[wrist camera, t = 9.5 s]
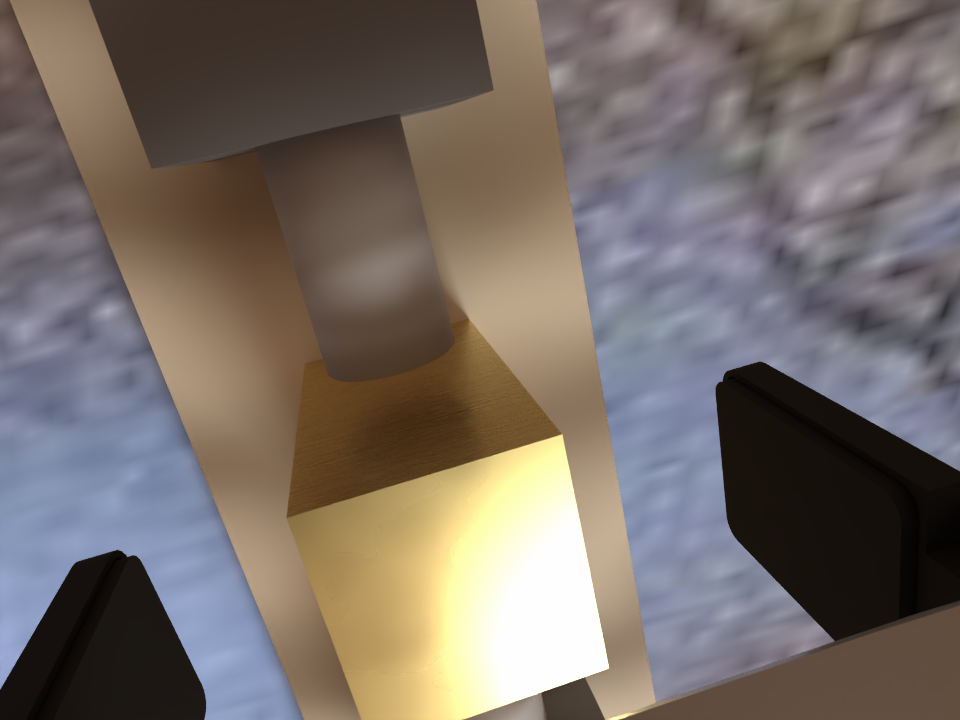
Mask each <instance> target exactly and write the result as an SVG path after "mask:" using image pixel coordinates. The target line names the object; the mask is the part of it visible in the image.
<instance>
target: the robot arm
mask: <svg viewBox="0 0 960 720" xmlns="http://www.w3.org/2000/svg"><path fill="white" fill-rule="evenodd" d="M716 403H717V414H718V425H719V436H720V447H721V458H722V469H723V480H724V491H725V502H726V513H727V520H728V524H729V527H730V529H731V531H732V533H733V535H734V537H735V538H736V539H737V540H738V542H739V543H740V544H741V545H742V546H743V547H744V548H745V549H746V550H747V551H748V552H749V553H750V554H751V555H752V556H753V557H754V558H755V559H756V560H757V561H758V562H759V563H760V564H761V565H762V566H763V567H764V568H765V569H766V570H767V571H768V572H769V573H770V575H771V576H772V577H773V578H774V579H775V580H776V581H777V582H778V583H779V584H780V585H781V586H782V587H783V588H784V589H785V590H786V591H787V592H788V593H789V594H790V595H791V596H792V597H793V598H794V599H795V600H796V601H797V602H798V603H799V604H800V605H801V606H802V607H803V609H804V610H805V611H806V612H807V613H808V614H809V615H810V616H811V617H812V618H813V619H814V620H815V621H816V622H817V623H818V624H819V625H820V626H821V627H822V628H823V629H824V630H825V631H826V632H827V633H828V634H829V635H830V636H831V637H832V638H833V639H834V640H835V641H834V642H832V643H829V644H826V645H823V646H820V647H817V648H814V649H811V650H808V651H805V652H802V653H800V654H797V655H794V656H791V657H788V658H785V659H782V660H779V661H776V662H773V663H771V664H768V665H765V666H762V667H759V668H756V669H753V670H750V671H747V672H744V673H741V674H739V675H736V676H733V677H730V678H727V679H724V680H721V681H718V682H715V683H712V684H710V685H707V686H704V687H701V688H698V689H695V690H692V691H689V692H686V693H683V694H680V695H678V696H675V697H672V698H669V699H666V700H663V701H660V702H657V703H654V704H651V705H649V706H646V707H643V708H640V709H637V710H634V711H631V712H629V713H626V714H623V715H620V716H617V717H614V718H611V719H609V720H960V471H958V470H956V469H955V468H953V467H951V466H949V465H947V464H946V463H944V462H942V461H940V460H938V459H937V458H935V457H933V456H931V455H929V454H928V453H926V452H924V451H922V450H920V449H919V448H917V447H915V446H913V445H911V444H910V443H908V442H906V441H904V440H902V439H901V438H899V437H897V436H895V435H893V434H892V433H890V432H888V431H886V430H884V429H883V428H881V427H879V426H877V425H875V424H874V423H872V422H870V421H868V420H866V419H865V418H863V417H861V416H859V415H857V414H856V413H854V412H852V411H850V410H848V409H847V408H845V407H843V406H841V405H839V404H838V403H836V402H834V401H832V400H830V399H829V398H827V397H825V396H823V395H821V394H820V393H818V392H816V391H814V390H812V389H811V388H809V387H807V386H805V385H803V384H802V383H800V382H798V381H796V380H794V379H793V378H791V377H789V376H787V375H785V374H784V373H782V372H780V371H778V370H776V369H775V368H773V367H771V366H769V365H767V364H766V363H763V362H757V363H753V364H750V365H746V366H743V367H740V368H736V369H733V370H729V371H727V372H726V373H725V374H724V378H723V382H719V383H718V384H717V386H716ZM205 713H206V699H205V693H204V689H203V687H202V684H201V682H200V680H199V678H198V676H197V674H196V672H195V670H194V668H193V666H192V664H191V662H190V660H189V658H188V656H187V654H186V652H185V650H184V648H183V646H182V644H181V641H180V639H179V637H178V635H177V633H176V631H175V629H174V627H173V625H172V623H171V621H170V619H169V617H168V615H167V613H166V611H165V609H164V607H163V605H162V603H161V601H160V599H159V597H158V595H157V592H156V590H155V588H154V586H153V584H152V582H151V580H150V578H149V576H148V574H147V572H146V570H145V568H144V566H143V564H142V562H141V561H140V559H139V558H138V557H137V556H134V555H133V556H129V557H127V556H126V555H125V554H124V553H123V552H122V551H119V550H116V551H112V552H109V553H105V554H102V555H99V556H95V557H92V558H88V559H85V560H82V561H78V562H76V563H75V564H74V565H73V566H72V568H71V570H70V571H69V573H68V575H67V576H66V578H65V580H64V582H63V583H62V585H61V587H60V588H59V590H58V592H57V594H56V595H55V597H54V599H53V600H52V602H51V604H50V606H49V607H48V609H47V611H46V612H45V614H44V616H43V618H42V619H41V621H40V623H39V624H38V626H37V628H36V630H35V631H34V633H33V635H32V636H31V638H30V640H29V642H28V643H27V645H26V647H25V648H24V650H23V652H22V654H21V655H20V657H19V659H18V660H17V662H16V664H15V666H14V667H13V669H12V671H11V672H10V674H9V676H8V677H7V679H6V681H5V683H4V684H3V686H2V688H1V689H0V720H204V718H205Z"/></svg>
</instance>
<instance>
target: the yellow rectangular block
mask: <svg viewBox="0 0 960 720" xmlns="http://www.w3.org/2000/svg"><path fill="white" fill-rule="evenodd" d="M451 326H452V330H453V334H454V338H455V343H454V345H453V346H452V348H451V349H450V350H449V351H448V352H446V353H445V354H444V355H442V356H441V357H439V358H438V359H436V360H434V361H432V362H430V363H428V364H426V365H424V366H422V367H419V368H417V369H414V370H411V371H408V372H405V373H402V374H399V375H395V376H391V377H387V378H382V379H377V380H371V381H363V382H343V381H337V380H334V379H332V378H331V377H329V375H328V373H327V370H326V367H325V364H324V361H323V359H321V360H317V361H313V362H310V363H306V364H305V365H304V374H303V382H302V391H301V399H300V407H299V416H298V424H297V433H296V441H295V450H294V458H293V467H292V475H291V483H290V492H289V500H288V509H287V517H286V518H287V521H288V524H289V526H290V529H291V532H292V534H293V537H294V540H295V542H296V545H297V548H298V551H299V553H300V556H301V559H302V561H303V564H304V567H305V569H306V572H307V575H308V577H309V580H310V583H311V585H312V588H313V591H314V593H315V596H316V599H317V602H318V604H319V607H320V610H321V612H322V615H323V618H324V620H325V623H326V626H327V628H328V631H329V634H330V636H331V639H332V642H333V644H334V647H335V650H336V652H337V655H338V658H339V661H340V663H341V666H342V669H343V671H344V674H345V677H346V679H347V682H348V685H349V687H350V690H351V693H352V695H353V698H354V701H355V703H356V706H357V709H358V712H359V714H360V717H361V720H463V719H466V718H469V717H472V716H475V715H477V714H480V713H483V712H486V711H489V710H492V709H494V708H497V707H500V706H503V705H506V704H509V703H511V702H514V701H517V700H520V699H523V698H526V697H528V696H531V695H534V694H537V693H540V692H543V691H545V690H548V689H551V688H554V687H557V686H560V685H562V684H565V683H568V682H571V681H574V680H577V679H579V678H582V677H585V676H588V675H591V674H594V673H596V672H599V671H602V670H605V669H608V668H609V667H608V662H607V657H606V652H605V647H604V642H603V637H602V632H601V626H600V621H599V616H598V611H597V606H596V601H595V596H594V591H593V586H592V581H591V576H590V571H589V566H588V561H587V556H586V551H585V546H584V541H583V536H582V531H581V526H580V521H579V516H578V511H577V506H576V501H575V496H574V491H573V485H572V480H571V475H570V470H569V465H568V460H567V455H566V450H565V445H564V440H563V435H562V433H561V432H560V431H559V430H558V428H557V427H556V426H555V425H554V423H553V422H552V421H551V420H550V418H549V417H548V416H547V415H546V413H545V412H544V411H543V410H542V409H541V407H540V406H539V405H538V404H537V402H536V401H535V400H534V399H533V397H532V396H531V395H530V394H529V392H528V391H527V390H526V389H525V387H524V386H523V385H522V384H521V382H520V381H519V380H518V379H517V378H516V376H515V375H514V374H513V373H512V371H511V370H510V369H509V368H508V366H507V365H506V364H505V363H504V361H503V360H502V359H501V358H500V356H499V355H498V354H497V353H496V352H495V350H494V349H493V348H492V347H491V345H490V344H489V343H488V342H487V340H486V339H485V338H484V337H483V335H482V334H481V333H480V332H479V330H478V329H477V328H476V327H475V325H474V324H473V323H472V322H471V321H470V319H466V320H462V321H459V322H455V323H451Z"/></svg>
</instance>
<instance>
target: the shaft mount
mask: <svg viewBox="0 0 960 720" xmlns="http://www.w3.org/2000/svg"><path fill="white" fill-rule="evenodd" d="M10 2H11V5H12V7H13V10H14V12H15V15H16V17H17V20H18V22H19V24H20V27H21V29H22V32H23V34H24V37H25V39H26V41H27V44H28V46H29V49H30V51H31V54H32V56H33V59H34V61H35V63H36V66H37V68H38V71H39V73H40V76H41V78H42V81H43V83H44V85H45V88H46V90H47V93H48V95H49V98H50V100H51V103H52V105H53V107H54V110H55V112H56V115H57V117H58V120H59V122H60V125H61V127H62V129H63V132H64V134H65V137H66V139H67V142H68V144H69V146H70V149H71V151H72V154H73V156H74V159H75V161H76V164H77V166H78V168H79V171H80V173H81V176H82V178H83V181H84V183H85V186H86V188H87V190H88V193H89V195H90V198H91V200H92V203H93V205H94V208H95V210H96V212H97V215H98V217H99V220H100V222H101V225H102V227H103V230H104V232H105V234H106V237H107V239H108V242H109V244H110V247H111V249H112V251H113V254H114V256H115V259H116V261H117V264H118V266H119V269H120V271H121V273H122V276H123V278H124V281H125V283H126V286H127V288H128V291H129V293H130V295H131V298H132V300H133V303H134V305H135V308H136V310H137V313H138V315H139V317H140V320H141V322H142V325H143V327H144V330H145V332H146V335H147V337H148V339H149V342H150V344H151V347H152V349H153V352H154V354H155V356H156V359H157V361H158V364H159V366H160V369H161V371H162V374H163V376H164V378H165V381H166V383H167V386H168V388H169V391H170V393H171V396H172V398H173V400H174V403H175V405H176V408H177V410H178V413H179V415H180V418H181V420H182V422H183V425H184V427H185V430H186V432H187V435H188V437H189V440H190V442H191V444H192V447H193V449H194V452H195V454H196V457H197V459H198V461H199V464H200V466H201V469H202V471H203V474H204V476H205V479H206V481H207V483H208V486H209V488H210V491H211V493H212V496H213V498H214V501H215V503H216V505H217V508H218V510H219V513H220V515H221V518H222V520H223V523H224V525H225V527H226V530H227V532H228V535H229V537H230V540H231V542H232V545H233V547H234V549H235V552H236V554H237V557H238V559H239V562H240V564H241V567H242V569H243V571H244V574H245V576H246V579H247V581H248V584H249V586H250V588H251V591H252V593H253V596H254V598H255V601H256V603H257V606H258V608H259V610H260V613H261V615H262V618H263V620H264V623H265V625H266V628H267V630H268V632H269V635H270V637H271V640H272V642H273V645H274V647H275V650H276V652H277V654H278V657H279V659H280V662H281V664H282V667H283V669H284V672H285V674H286V676H287V679H288V681H289V684H290V686H291V689H292V691H293V693H294V696H295V698H296V701H297V703H298V706H299V708H300V711H301V713H302V715H303V718H304V720H361V717H360V714H359V712H358V709H357V706H356V703H355V701H354V698H353V695H352V693H351V690H350V687H349V685H348V682H347V679H346V677H345V674H344V671H343V669H342V666H341V663H340V661H339V658H338V655H337V652H336V650H335V647H334V644H333V642H332V639H331V636H330V634H329V631H328V628H327V626H326V623H325V620H324V618H323V615H322V612H321V610H320V607H319V604H318V602H317V599H316V596H315V593H314V591H313V588H312V585H311V583H310V580H309V577H308V575H307V572H306V569H305V567H304V564H303V561H302V559H301V556H300V553H299V551H298V548H297V545H296V542H295V540H294V537H293V534H292V532H291V529H290V526H289V524H288V521H287V518H286V517H287V509H288V500H289V492H290V483H291V475H292V467H293V458H294V450H295V441H296V433H297V424H298V416H299V407H300V399H301V391H302V382H303V374H304V365H305V364H306V363H310V362H313V361H317V360H321V359H323V361H324V364H325V367H326V370H327V373H328V375H329V377H331V378H332V379H334V380H337V381H343V382H363V381H371V380H377V379H382V378H387V377H391V376H395V375H399V374H402V373H405V372H408V371H411V370H414V369H417V368H419V367H422V366H424V365H426V364H428V363H430V362H432V361H434V360H436V359H438V358H439V357H441V356H442V355H444V354H445V353H446V352H448V351H449V350H450V349H451V348H452V346H453V345H454V343H455V338H454V334H453V330H452V326H451V323H455V322H459V321H462V320H466V319H470V321H471V322H472V323H473V324H474V325H475V327H476V328H477V329H478V330H479V332H480V333H481V334H482V335H483V337H484V338H485V339H486V340H487V342H488V343H489V344H490V345H491V347H492V348H493V349H494V350H495V352H496V353H497V354H498V355H499V356H500V358H501V359H502V360H503V361H504V363H505V364H506V365H507V366H508V368H509V369H510V370H511V371H512V373H513V374H514V375H515V376H516V378H517V379H518V380H519V381H520V382H521V384H522V385H523V386H524V387H525V389H526V390H527V391H528V392H529V394H530V395H531V396H532V397H533V399H534V400H535V401H536V402H537V404H538V405H539V406H540V407H541V409H542V410H543V411H544V412H545V413H546V415H547V416H548V417H549V418H550V420H551V421H552V422H553V423H554V425H555V426H556V427H557V428H558V430H559V431H560V432H561V433H562V435H563V440H564V445H565V450H566V455H567V460H568V465H569V470H570V475H571V480H572V485H573V491H574V496H575V501H576V506H577V511H578V516H579V521H580V526H581V531H582V536H583V541H584V546H585V551H586V556H587V561H588V566H589V571H590V576H591V581H592V586H593V591H594V596H595V601H596V606H597V611H598V616H599V621H600V626H601V632H602V637H603V642H604V647H605V652H606V657H607V662H608V667H609V668H608V669H605V670H602V671H599V672H596V673H594V674H591V675H588V676H585V677H582V678H579V679H577V680H574V681H571V682H568V683H565V684H562V685H560V686H557V687H554V688H551V689H548V690H545V691H543V692H540V693H537V694H534V695H531V696H528V697H526V698H523V699H520V700H517V701H514V702H511V703H509V704H506V705H503V706H500V707H497V708H494V709H492V710H489V711H486V712H483V713H480V714H477V715H475V716H472V717H469V718H466V719H463V720H609V719H611V718H614V717H617V716H620V715H623V714H626V713H629V712H631V711H634V710H637V709H640V708H643V707H646V706H649V705H651V704H654V703H656V702H655V696H654V691H653V685H652V679H651V673H650V667H649V661H648V655H647V649H646V643H645V638H644V632H643V626H642V620H641V614H640V608H639V602H638V596H637V591H636V585H635V579H634V573H633V567H632V561H631V555H630V549H629V544H628V538H627V532H626V526H625V520H624V514H623V508H622V502H621V497H620V491H619V485H618V479H617V473H616V467H615V461H614V455H613V449H612V444H611V438H610V432H609V426H608V420H607V414H606V408H605V402H604V397H603V391H602V385H601V379H600V373H599V367H598V361H597V355H596V350H595V344H594V338H593V332H592V326H591V320H590V314H589V308H588V302H587V297H586V291H585V285H584V279H583V273H582V267H581V261H580V255H579V250H578V244H577V238H576V232H575V226H574V220H573V214H572V208H571V203H570V197H569V191H568V185H567V179H566V173H565V167H564V161H563V155H562V150H561V144H560V138H559V132H558V126H557V120H556V114H555V108H554V103H553V97H552V91H551V85H550V79H549V73H548V67H547V61H546V56H545V50H544V44H543V38H542V32H541V26H540V20H539V14H538V9H537V3H536V0H10Z"/></svg>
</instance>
